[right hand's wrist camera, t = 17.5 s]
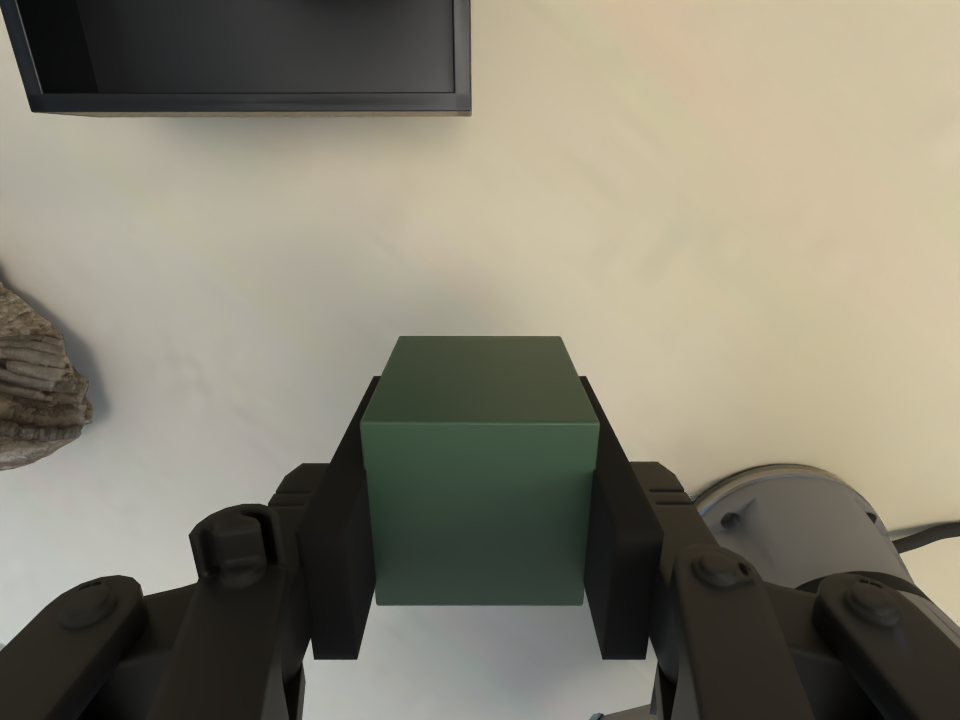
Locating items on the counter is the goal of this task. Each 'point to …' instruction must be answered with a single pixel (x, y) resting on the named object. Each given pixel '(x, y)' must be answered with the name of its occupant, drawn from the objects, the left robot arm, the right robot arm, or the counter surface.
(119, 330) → the counter surface
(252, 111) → the pan
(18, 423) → the fossil
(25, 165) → the counter surface
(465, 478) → the green block
